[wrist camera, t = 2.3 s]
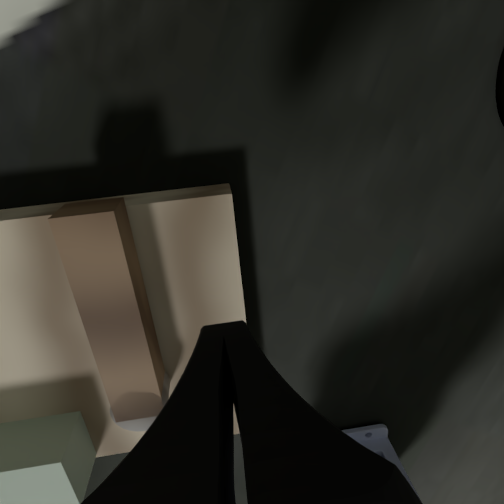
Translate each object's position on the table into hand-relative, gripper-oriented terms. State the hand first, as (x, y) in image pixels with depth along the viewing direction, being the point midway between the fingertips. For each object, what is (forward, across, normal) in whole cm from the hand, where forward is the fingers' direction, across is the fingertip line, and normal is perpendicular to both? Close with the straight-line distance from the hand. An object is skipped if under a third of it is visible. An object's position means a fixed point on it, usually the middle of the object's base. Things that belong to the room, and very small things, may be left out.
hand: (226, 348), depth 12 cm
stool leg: (+7, +5, +2) cm, 9 cm away
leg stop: (+7, +12, +10) cm, 17 cm away
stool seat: (+9, +8, +5) cm, 13 cm away
